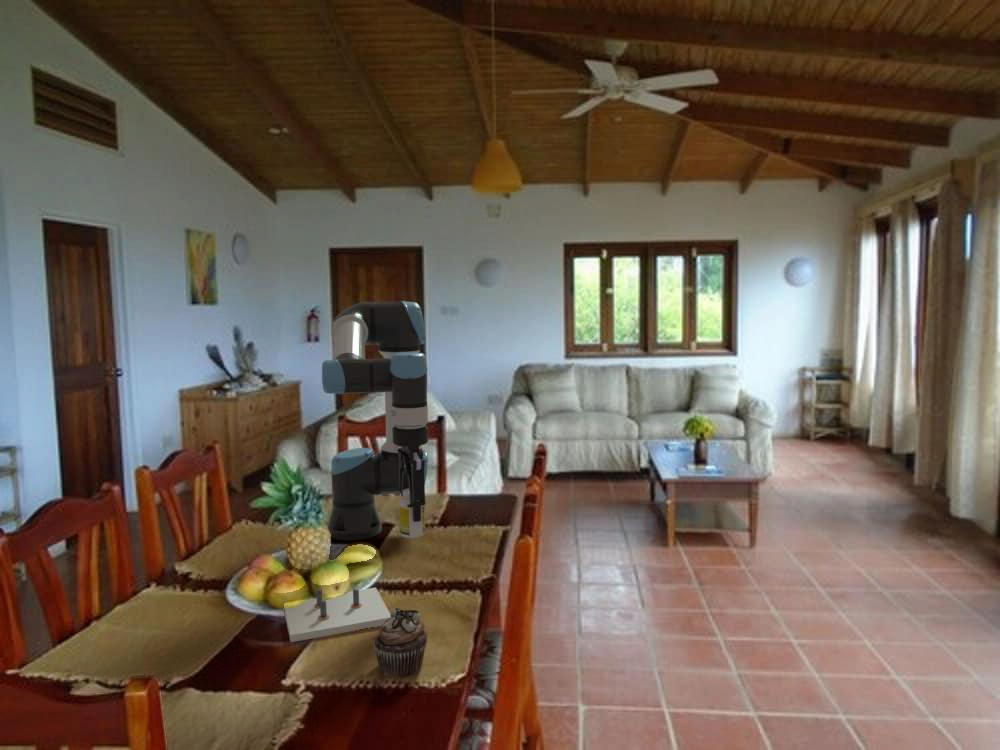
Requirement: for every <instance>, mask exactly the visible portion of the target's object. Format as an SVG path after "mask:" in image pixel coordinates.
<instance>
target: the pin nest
mask: <svg viewBox="0 0 1000 750" xmlns="http://www.w3.org/2000/svg"><path fill="white" fill-rule="evenodd" d="M347 592H348V593H347V594H345V595H343V596H340V597H337V598H334V599H328V600H323V599H322V596H323V588H318V589H316V590H315V593H316V595H315V597H317V599H310V600H308V601H307V602H305V603H303V604H300V605H298V606H296V607H291V608H285V613H284V616H285V617H284V618H285V622H286V628H287V632H288V636H289V642H290V643H295V642H299V641H300V642H301V641H306V640H311V639H317V638H324V637H328V636H334V635H339V634H345V633H351V632H356V631H355V630H357V631H360V630H359V629H363V628H368V629H372V628H371V627H374V628H378V626H379V627H381V626H382V625H383V624H384V622H385V621H386V620H388V619H389V618H391V612H390V611H389V609H388V607H387V606H386V604H385V602H384V600H383V598H382V596H381V594H380V593H379V591H378V589H377V587H371V588H365V589H359V588H355V589H353V590H351V591H347ZM363 630H364V629H363ZM350 631H351V632H350Z"/></svg>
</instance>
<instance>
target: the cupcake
mask: <svg viewBox="0 0 1000 750" xmlns="http://www.w3.org/2000/svg"><path fill="white" fill-rule="evenodd" d="M390 614H391V618H389V619H388V620H386V621H385V622H384V624H383V625H382V626H380V627H379V630H378V634H377V636H376V637H374V641H373V644H372V645H373V649H374V652H375V656H376V660H377V664H378V665H377V666H378V669H379V672H380V673H381V674H382V675H384V676H386V677H389V678H397V679H398V678H408V677H410V676H413V675H415V674H417V673H418V672H419V671H421V670H422V666H423V660H424V656H425V650H426V648H427V644H428V634H427V633H426V631H425V624H424V622H423V621H422V620H421V614H420V613H419V611H418V610H416V609H405V610H404V609H401V608H398V607H397V608H395V609H392V610H391V612H390Z"/></svg>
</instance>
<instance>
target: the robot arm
mask: <svg viewBox="0 0 1000 750" xmlns="http://www.w3.org/2000/svg"><path fill="white" fill-rule="evenodd" d="M330 329H331V330H330V335H331V339H332V341H333V352H332V359H328V360H324V361H323V362H322V365H321V381H322V382H321V383H322V390H323V391H324V393H325V394H338V395H344V394H345V395H346V394H362V393H363V394H364V393H366V394H367V393H384V405H385V409H384V411H385V413H384V414H385V441H384V442H383V444H381V446H380V452H379V453H374V449H373V448H371V447H357V448H352V449H347V450H344V451H341V452H338V453H337V454H335V455H334V456H333V457H332V459H331V466H330V467H331V470H330V475H331V493H332V494H331V495H332V496H331V497H332V499H331V500H332V508H331V511H330V515H329V518H328V521H327V526H328V529H329V531H330V533H331V537H332V538H331V537H330V538H331V539H333V540H337V541H338V540H339V541H361V540H366V539H370V538H373V537H375V536H378V535H379V534H381V533H382V530H383V529H382V528H383V527H382V520H381V517H380V514H379V512H378V508H377V507H376V504H375V502H376V501H375V500H376V499H375V496H379V495H396V494H400V496H401V497H402V498H401V500H403V499H404V498H403V490H404V489H408V488H409V494H410V504H409V505H407V507H408V508H409V531H410V537H411V536H418V535H422V536H424V535H423V519H422V506H423V505H426V491H425V489H426V487H425V486H426V482H427V475H428V466H429V465H428V463H429V462H428V460H429V458H428V456H429V455H428V452H427V451H426V450H424V449H423V446H425V445H426V444H427V443H428V442H429V427H428V426H427V424H428V423H429V409H428V405H429V404H428V401H427V400H428V395H427V394H428V392H427V391H428V382H427V381H428V378H427V377H428V374H427V373H428V367H427V365H428V364H427V357H426V354H424V353H423V352H421V345H424V344H426V342H427V341H426V330H425V322H424V318H423V312H422V309H421V307H420V304H418V303H417V302H414V301H404V300H402V301H401V300H399V301H363V302H359V303H356V304H353V305H351V306H349V307H347V308H345V309H344V310H342V311H341V312H339V313H338V314H337V315H336V317H334V319H333V322H332V323H331V328H330ZM368 345H371V346H373V345H374V346H375V345H377V347H378V348H377V350H378V353H379V354H380V355H381V356H382V357H383V358H366V346H368Z"/></svg>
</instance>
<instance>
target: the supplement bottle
mask: <svg viewBox="0 0 1000 750" xmlns="http://www.w3.org/2000/svg"><path fill="white" fill-rule="evenodd" d="M402 498H404V499H403V500H402V499H401V500H400V501H399V534H400V536H401V537H403V538H408V539H413V538H414V539H415V538H420V537H423V536H424V535H425V532H426V527H425V524H426V514H425V512H426V511H425V507H426V506H425V505H426V504H425V505H423V506H422V519H423V535H418V536H411V537H410V531H409V508H408V507H407V505H409V504H410V494H409V488H408V489H404V490H403V497H402Z"/></svg>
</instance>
